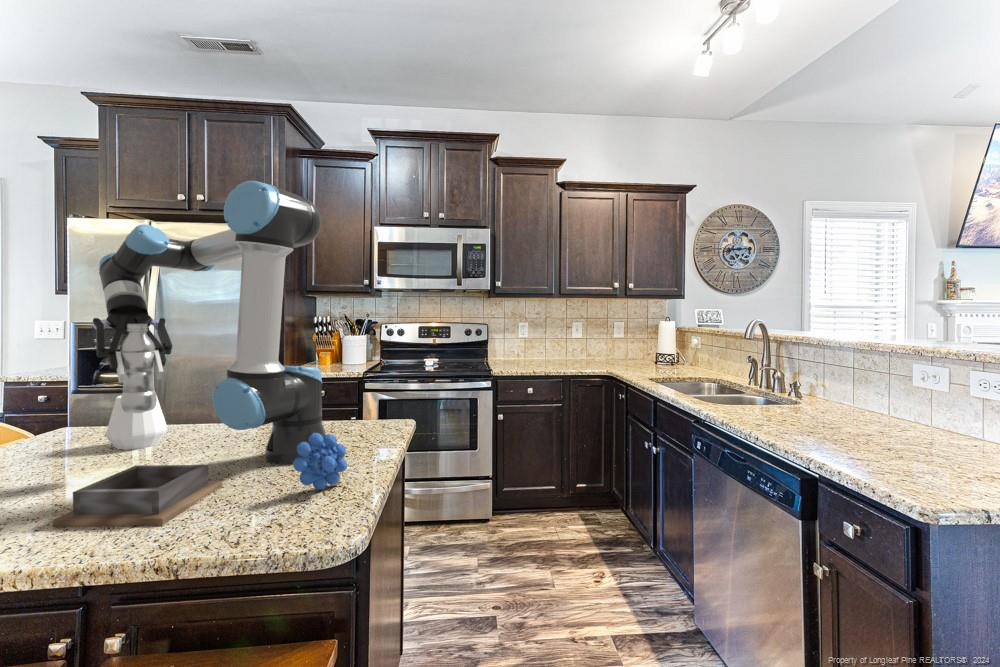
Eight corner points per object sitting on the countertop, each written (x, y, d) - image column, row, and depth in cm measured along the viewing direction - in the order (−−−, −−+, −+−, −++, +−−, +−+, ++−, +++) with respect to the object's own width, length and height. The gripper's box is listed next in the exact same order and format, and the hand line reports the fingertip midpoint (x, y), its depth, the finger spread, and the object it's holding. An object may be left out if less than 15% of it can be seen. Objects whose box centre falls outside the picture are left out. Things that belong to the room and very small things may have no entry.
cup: (128, 439, 134) (127, 391, 133) (177, 438, 135) (176, 391, 135) (92, 453, 121) (91, 399, 120) (148, 451, 122) (147, 399, 122)
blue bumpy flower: (305, 503, 88) (304, 441, 87) (287, 495, 92) (287, 435, 92) (358, 486, 97) (358, 429, 96) (340, 479, 101) (339, 424, 101)
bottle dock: (222, 486, 97) (221, 462, 96) (162, 525, 79) (162, 494, 78) (133, 487, 96) (132, 462, 96) (53, 526, 78) (52, 496, 78)
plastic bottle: (117, 416, 100) (114, 324, 99) (125, 411, 106) (123, 323, 105) (153, 413, 103) (151, 323, 102) (159, 408, 109) (157, 323, 108)
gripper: (171, 315, 121) (189, 383, 110) (71, 314, 107) (82, 392, 96) (175, 294, 117) (195, 362, 107) (73, 290, 103) (84, 369, 93)
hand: (141, 376), depth 101 cm, fingers closed on plastic bottle, 6 cm apart
